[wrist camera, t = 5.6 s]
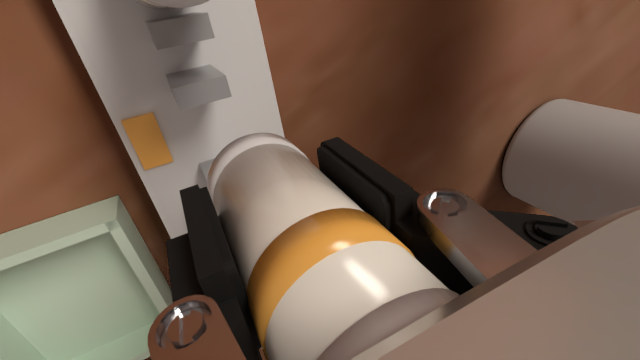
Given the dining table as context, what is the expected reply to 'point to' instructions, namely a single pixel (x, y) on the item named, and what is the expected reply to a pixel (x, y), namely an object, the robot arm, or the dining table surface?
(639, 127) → the cylinder vase
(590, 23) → the dining table surface
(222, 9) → the holder
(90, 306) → the tray
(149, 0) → the cylinder
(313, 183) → the fuse marked
